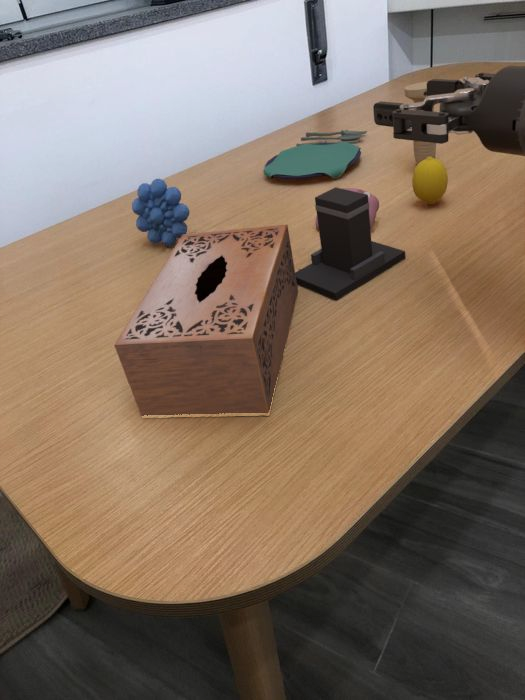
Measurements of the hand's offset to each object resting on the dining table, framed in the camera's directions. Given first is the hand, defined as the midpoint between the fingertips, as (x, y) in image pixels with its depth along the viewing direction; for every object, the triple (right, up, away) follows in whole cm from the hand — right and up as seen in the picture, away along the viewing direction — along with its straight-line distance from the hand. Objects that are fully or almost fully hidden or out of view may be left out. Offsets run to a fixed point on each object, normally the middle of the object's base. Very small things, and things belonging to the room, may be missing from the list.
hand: (402, 101), depth 65 cm
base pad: (-3, -15, +21) cm, 26 cm away
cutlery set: (-3, +14, +63) cm, 65 cm away
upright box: (-3, -14, +20) cm, 25 cm away
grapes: (-31, -8, +40) cm, 51 cm away
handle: (+15, +7, +48) cm, 51 cm away
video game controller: (-1, -7, +33) cm, 34 cm away
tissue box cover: (-19, -27, +10) cm, 34 cm away
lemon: (+13, -3, +35) cm, 37 cm away
